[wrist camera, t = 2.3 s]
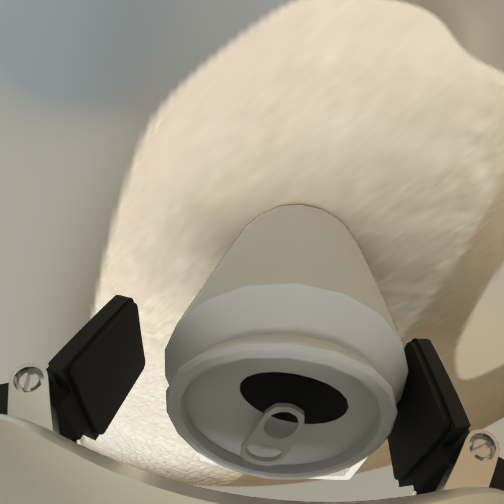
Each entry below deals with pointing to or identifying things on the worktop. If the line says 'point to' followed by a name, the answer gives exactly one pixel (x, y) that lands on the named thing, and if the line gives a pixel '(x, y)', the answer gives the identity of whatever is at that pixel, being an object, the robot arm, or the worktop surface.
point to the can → (287, 353)
